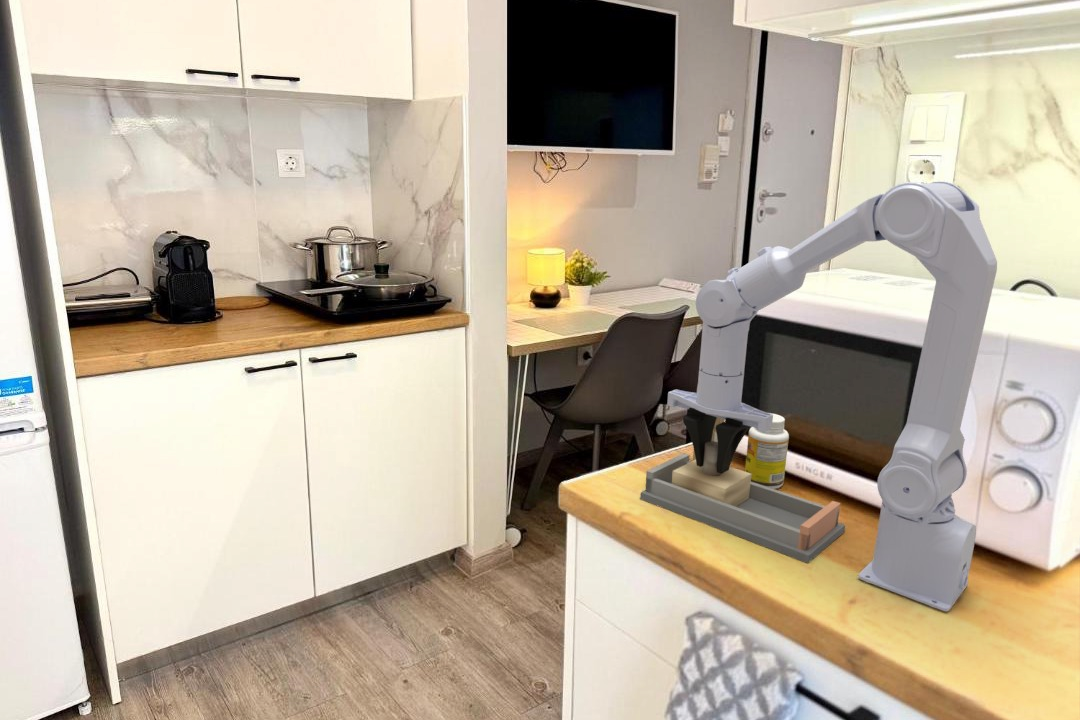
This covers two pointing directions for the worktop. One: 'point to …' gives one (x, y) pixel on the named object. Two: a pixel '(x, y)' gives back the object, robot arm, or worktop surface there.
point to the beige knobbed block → (713, 479)
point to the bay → (751, 514)
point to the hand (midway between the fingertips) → (712, 467)
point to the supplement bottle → (768, 454)
